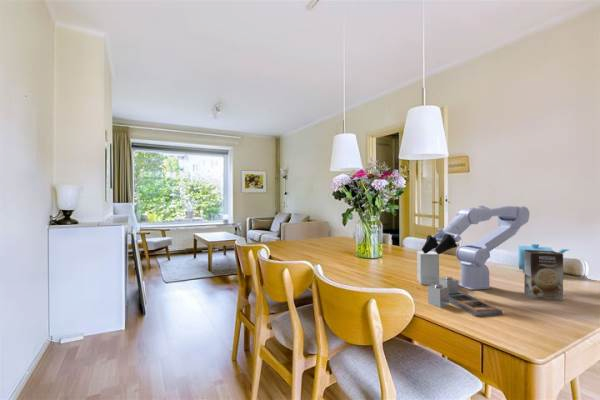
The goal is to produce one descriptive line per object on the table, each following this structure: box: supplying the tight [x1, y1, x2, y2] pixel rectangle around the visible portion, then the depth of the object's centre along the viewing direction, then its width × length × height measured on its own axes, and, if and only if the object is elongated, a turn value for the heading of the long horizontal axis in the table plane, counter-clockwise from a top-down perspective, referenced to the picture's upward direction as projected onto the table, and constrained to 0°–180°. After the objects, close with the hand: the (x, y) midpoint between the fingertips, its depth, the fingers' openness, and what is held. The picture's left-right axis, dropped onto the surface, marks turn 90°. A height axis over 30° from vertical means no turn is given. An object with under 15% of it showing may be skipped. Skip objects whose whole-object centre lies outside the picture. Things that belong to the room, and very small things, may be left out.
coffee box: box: [523, 250, 564, 302], centre depth 103 cm, size 9×6×16 cm
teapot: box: [517, 243, 569, 274], centre depth 135 cm, size 18×16×13 cm
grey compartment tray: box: [449, 290, 503, 317], centre depth 100 cm, size 9×23×2 cm, turn 9°
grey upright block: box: [427, 284, 450, 309], centre depth 99 cm, size 4×4×6 cm
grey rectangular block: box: [439, 276, 460, 295], centre depth 107 cm, size 4×4×6 cm
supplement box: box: [416, 250, 440, 286], centre depth 123 cm, size 7×7×13 cm
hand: (429, 251), depth 110 cm, fingers open, 7 cm apart
